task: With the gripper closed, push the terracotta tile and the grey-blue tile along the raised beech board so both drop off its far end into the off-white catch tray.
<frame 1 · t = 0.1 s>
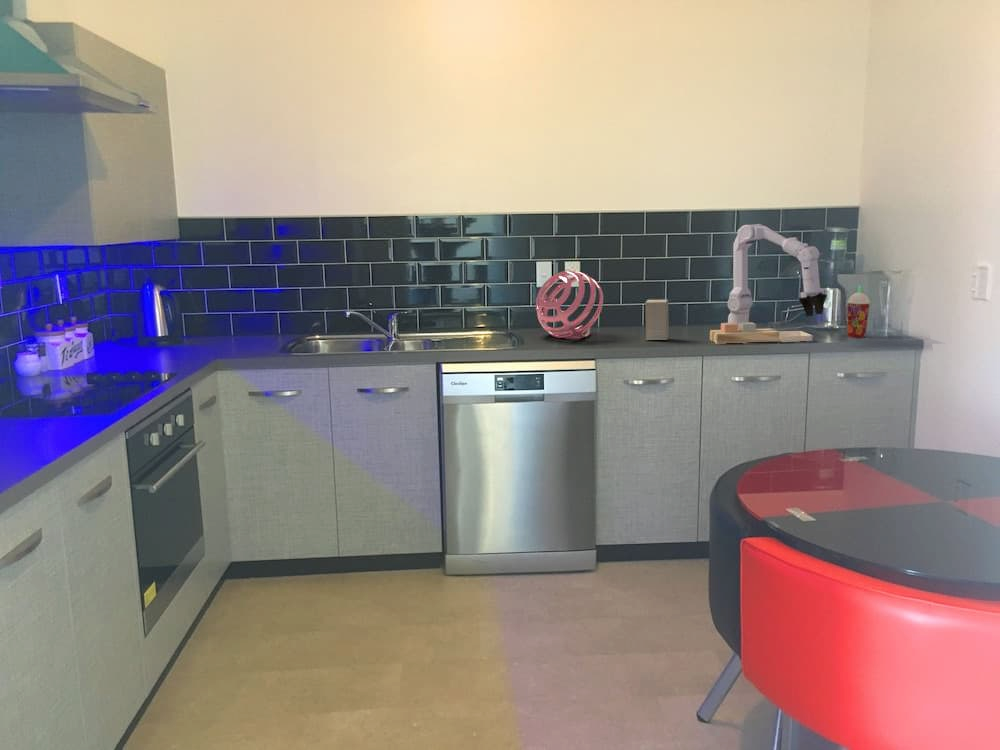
hand: (814, 315, 316), 11 cm above the table, tool pointing down, fingers open, 7 cm apart
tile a: (729, 331, 322), point 4 cm above the table, touching board
board: (744, 341, 323), on the table
smoothie: (856, 337, 329), on the table
tile b: (747, 331, 323), point 4 cm above the table, touching board
skincare box: (656, 340, 330), on the table
tray: (791, 340, 324), on the table
spiral basket: (566, 337, 340), on the table
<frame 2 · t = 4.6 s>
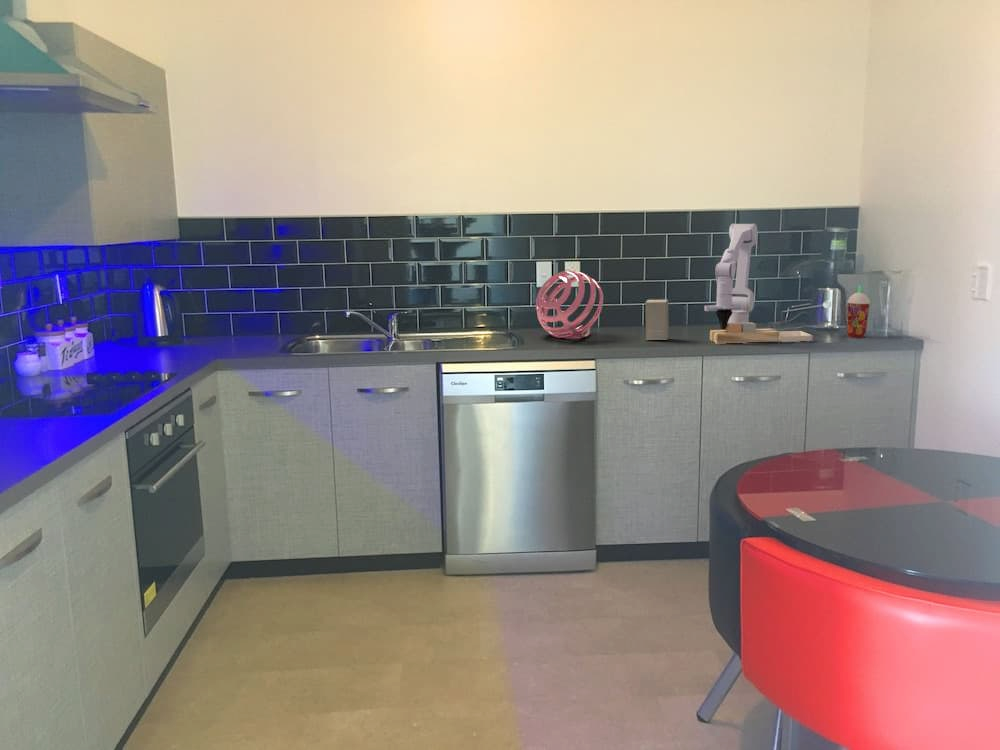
hand: (723, 329, 322), 5 cm above the table, tool pointing down, fingers closed
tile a: (732, 331, 322), point 4 cm above the table, touching board
everything else where it was.
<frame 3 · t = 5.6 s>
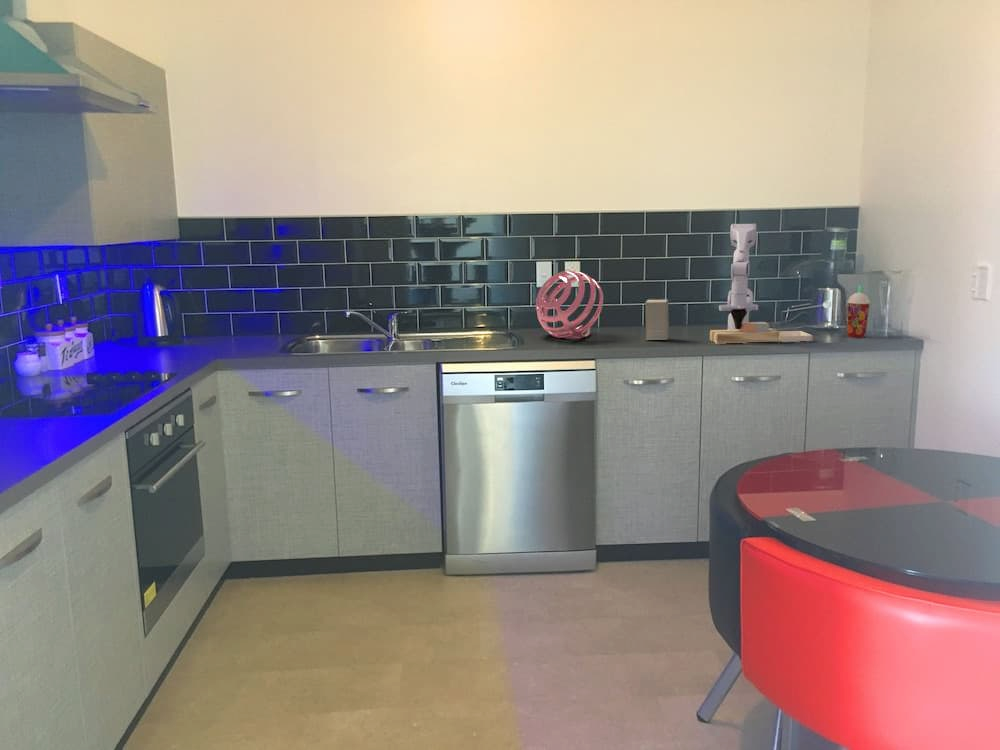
hand: (737, 328, 322), 5 cm above the table, tool pointing down, fingers closed
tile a: (747, 331, 323), point 4 cm above the table, touching gripper, tile b
tile b: (759, 330, 323), point 4 cm above the table, touching board, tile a
everything else where it was.
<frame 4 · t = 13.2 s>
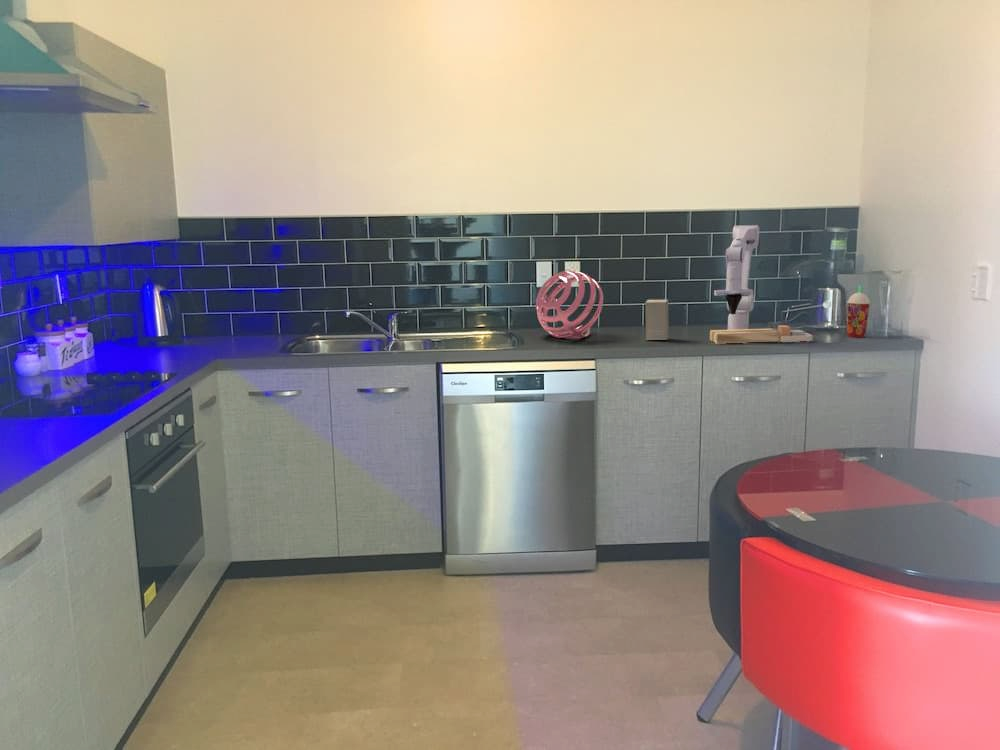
hand: (732, 313, 323), 10 cm above the table, tool pointing down, fingers closed
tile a: (780, 332, 323), point 3 cm above the table, tilted 90°, touching tray
tile b: (796, 331, 323), point 3 cm above the table, tilted 180°, touching tray
everything else where it was.
at the end: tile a inside the target area (5.4 cm from its centre), point 3.0 cm above the table; tile b inside the target area (1.1 cm from its centre), point 3.5 cm above the table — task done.
